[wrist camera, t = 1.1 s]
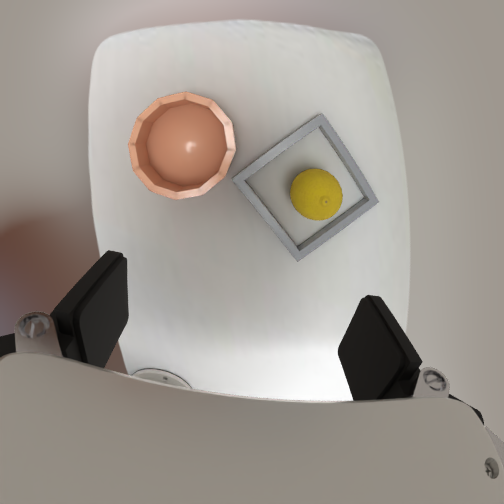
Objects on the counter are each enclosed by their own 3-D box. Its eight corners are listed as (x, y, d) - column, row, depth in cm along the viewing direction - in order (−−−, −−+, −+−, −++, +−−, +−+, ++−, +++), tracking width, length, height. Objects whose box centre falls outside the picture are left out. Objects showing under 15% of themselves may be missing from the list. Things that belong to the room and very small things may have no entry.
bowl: (254, 150, 32) (256, 152, 27) (182, 208, 34) (174, 219, 30) (195, 81, 28) (188, 72, 24) (126, 142, 30) (111, 144, 26)
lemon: (329, 208, 35) (351, 228, 27) (286, 210, 35) (297, 231, 27) (329, 165, 32) (353, 173, 25) (284, 165, 32) (296, 173, 25)
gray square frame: (374, 199, 34) (379, 202, 33) (295, 257, 37) (297, 261, 36) (319, 114, 30) (322, 113, 29) (232, 177, 33) (231, 179, 31)
